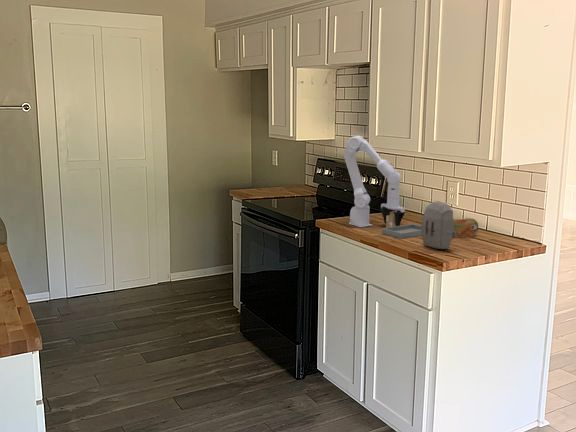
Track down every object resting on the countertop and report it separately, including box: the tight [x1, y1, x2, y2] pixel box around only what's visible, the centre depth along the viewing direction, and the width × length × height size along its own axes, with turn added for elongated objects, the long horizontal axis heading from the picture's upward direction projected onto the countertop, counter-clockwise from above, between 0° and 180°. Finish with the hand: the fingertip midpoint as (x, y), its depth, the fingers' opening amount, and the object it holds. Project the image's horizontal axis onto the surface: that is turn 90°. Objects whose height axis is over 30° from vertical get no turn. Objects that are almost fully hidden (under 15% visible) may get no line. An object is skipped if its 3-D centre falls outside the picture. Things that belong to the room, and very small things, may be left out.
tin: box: [452, 217, 479, 238], centre depth 260 cm, size 15×3×8 cm, turn 105°
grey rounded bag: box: [420, 200, 454, 250], centre depth 238 cm, size 15×8×20 cm, turn 30°
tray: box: [381, 223, 422, 240], centre depth 265 cm, size 12×20×2 cm, turn 124°
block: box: [385, 214, 396, 228], centre depth 277 cm, size 4×4×6 cm
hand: (391, 224), depth 277 cm, fingers open, 7 cm apart
